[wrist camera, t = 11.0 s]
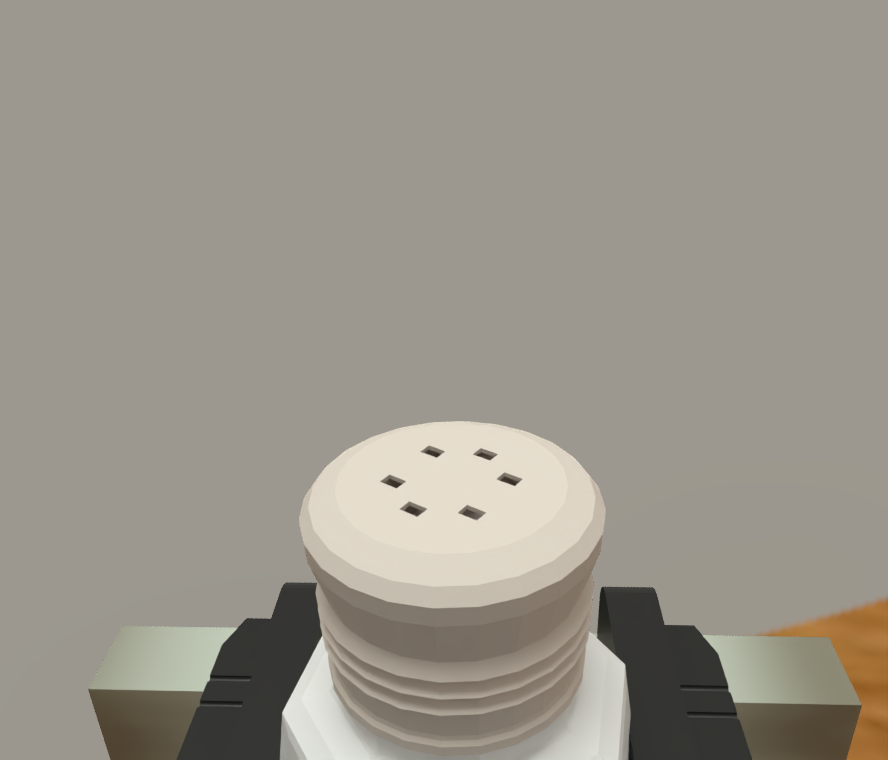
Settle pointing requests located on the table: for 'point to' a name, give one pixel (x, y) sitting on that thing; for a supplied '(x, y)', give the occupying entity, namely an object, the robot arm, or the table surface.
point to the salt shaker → (456, 604)
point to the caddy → (742, 657)
